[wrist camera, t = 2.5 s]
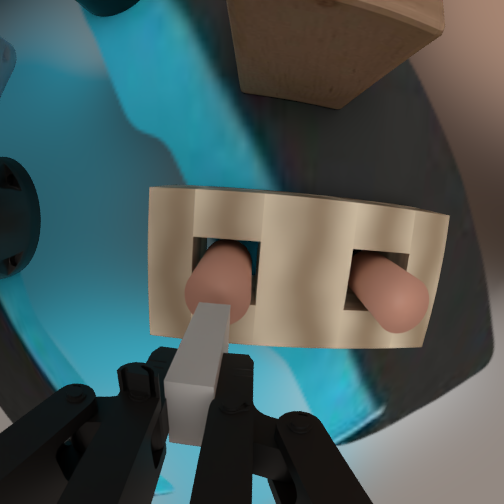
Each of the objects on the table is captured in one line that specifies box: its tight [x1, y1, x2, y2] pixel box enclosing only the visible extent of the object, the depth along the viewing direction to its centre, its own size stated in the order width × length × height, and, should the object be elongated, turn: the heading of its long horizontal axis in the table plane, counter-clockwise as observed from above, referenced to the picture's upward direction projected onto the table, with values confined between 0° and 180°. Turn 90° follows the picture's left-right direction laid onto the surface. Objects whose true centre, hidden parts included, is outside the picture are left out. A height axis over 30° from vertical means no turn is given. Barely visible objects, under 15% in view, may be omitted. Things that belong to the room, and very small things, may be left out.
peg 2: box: [348, 250, 429, 333], centre depth 23 cm, size 4×4×8 cm
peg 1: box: [184, 239, 252, 325], centre depth 23 cm, size 4×4×8 cm
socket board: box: [148, 185, 449, 348], centre depth 28 cm, size 24×12×8 cm, turn 86°
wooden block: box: [226, 0, 445, 109], centre depth 18 cm, size 10×10×20 cm
